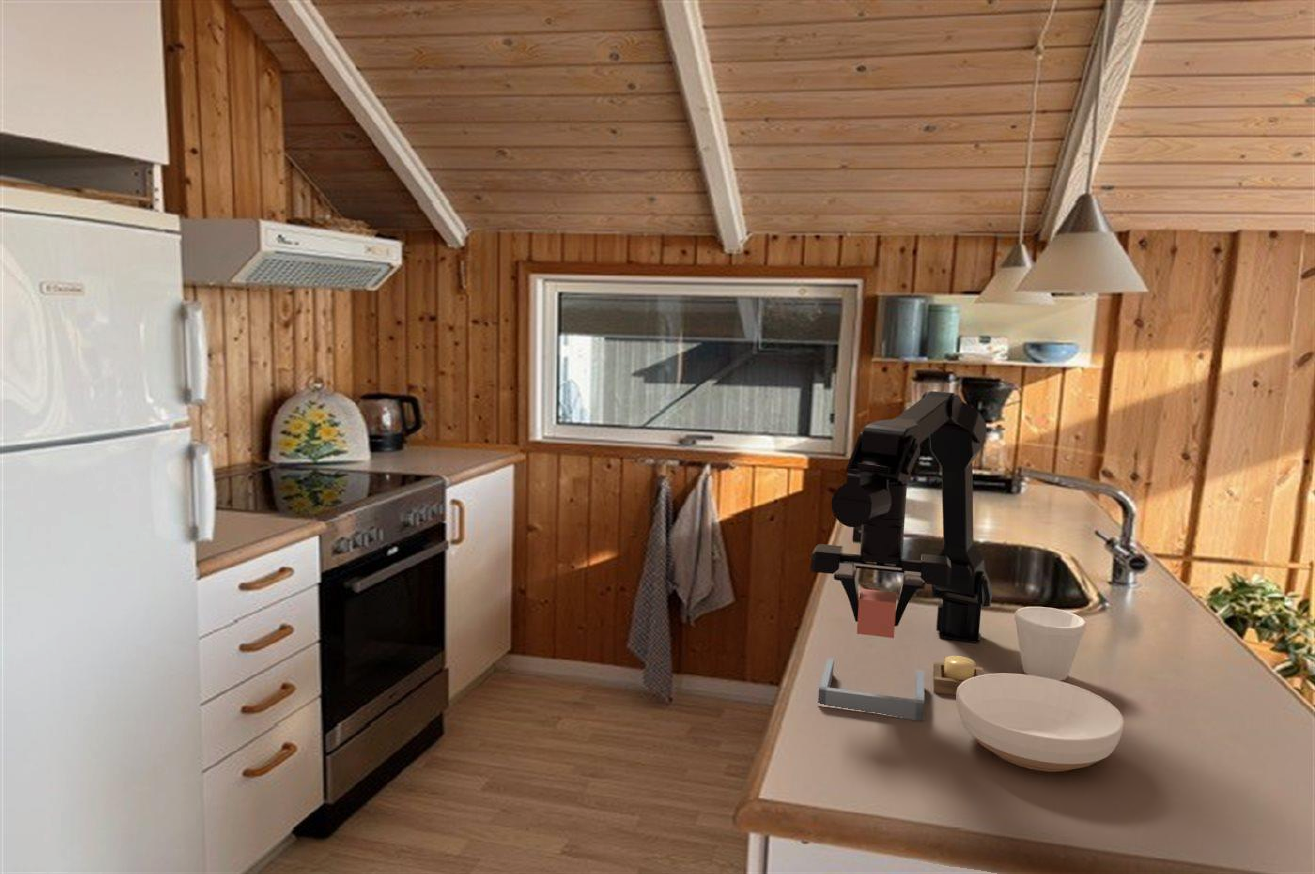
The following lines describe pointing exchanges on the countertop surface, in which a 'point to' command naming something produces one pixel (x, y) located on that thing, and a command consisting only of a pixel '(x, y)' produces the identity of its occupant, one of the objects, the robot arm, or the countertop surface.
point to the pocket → (872, 698)
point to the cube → (876, 613)
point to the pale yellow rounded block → (959, 668)
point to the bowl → (1038, 721)
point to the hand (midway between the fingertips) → (876, 623)
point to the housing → (948, 679)
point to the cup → (1048, 640)
